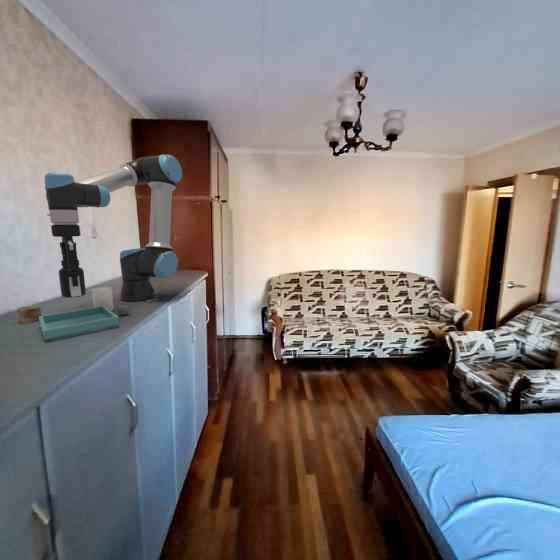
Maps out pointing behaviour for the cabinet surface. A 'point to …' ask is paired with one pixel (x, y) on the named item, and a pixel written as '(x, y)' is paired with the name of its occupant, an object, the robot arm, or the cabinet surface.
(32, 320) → the walnut block
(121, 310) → the grey egg
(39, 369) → the cabinet surface
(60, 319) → the tray
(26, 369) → the cabinet surface
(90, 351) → the cabinet surface
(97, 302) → the cream round piece
